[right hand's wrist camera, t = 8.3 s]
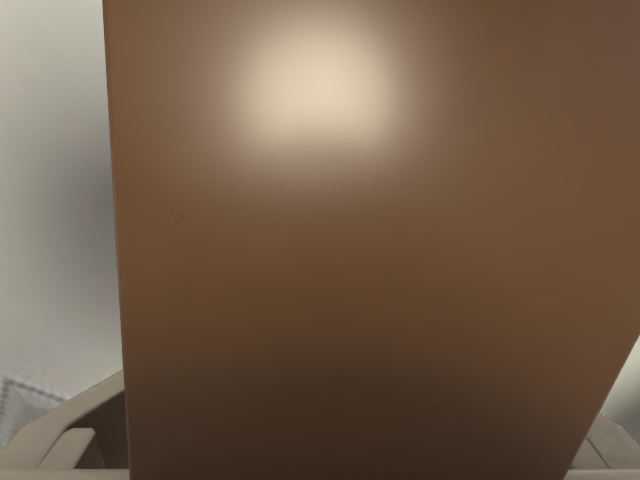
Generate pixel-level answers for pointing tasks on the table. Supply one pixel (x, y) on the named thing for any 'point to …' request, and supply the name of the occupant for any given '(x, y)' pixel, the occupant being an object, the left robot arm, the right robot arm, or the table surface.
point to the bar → (372, 233)
